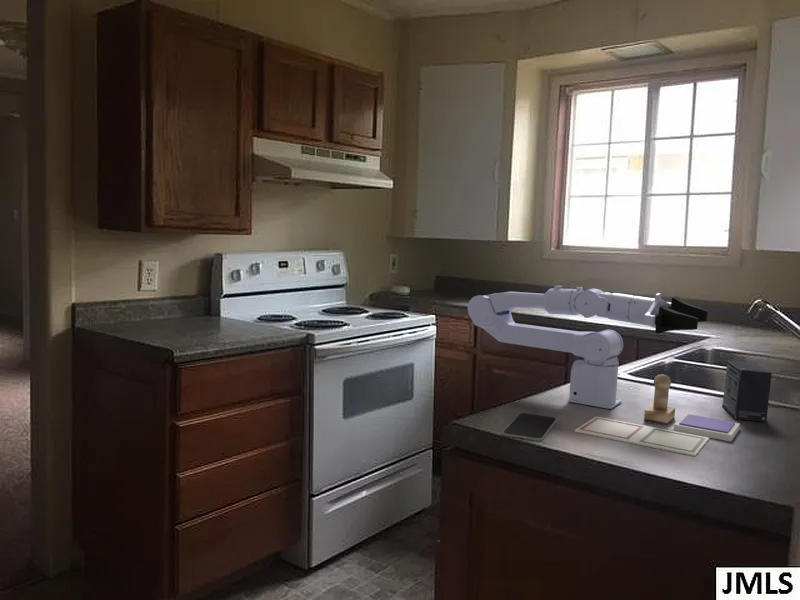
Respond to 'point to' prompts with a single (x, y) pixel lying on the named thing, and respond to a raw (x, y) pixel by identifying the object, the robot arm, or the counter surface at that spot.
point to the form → (644, 435)
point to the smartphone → (529, 426)
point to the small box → (746, 391)
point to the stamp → (660, 403)
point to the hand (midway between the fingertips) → (702, 320)
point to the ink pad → (707, 427)
